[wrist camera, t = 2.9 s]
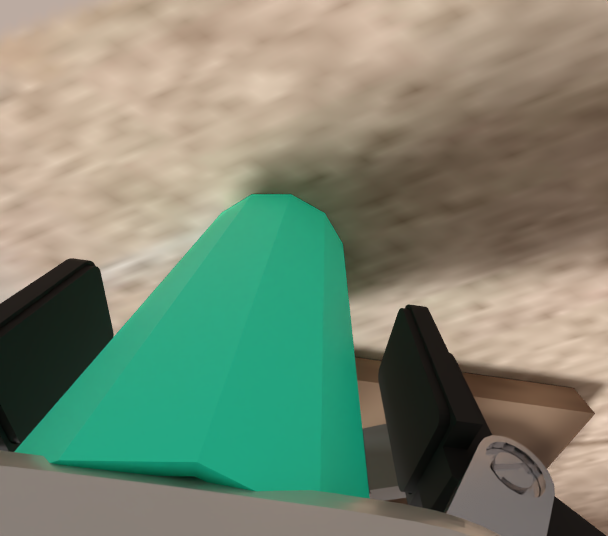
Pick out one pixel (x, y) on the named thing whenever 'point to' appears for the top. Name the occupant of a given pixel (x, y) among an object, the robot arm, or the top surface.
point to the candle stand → (495, 409)
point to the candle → (229, 366)
